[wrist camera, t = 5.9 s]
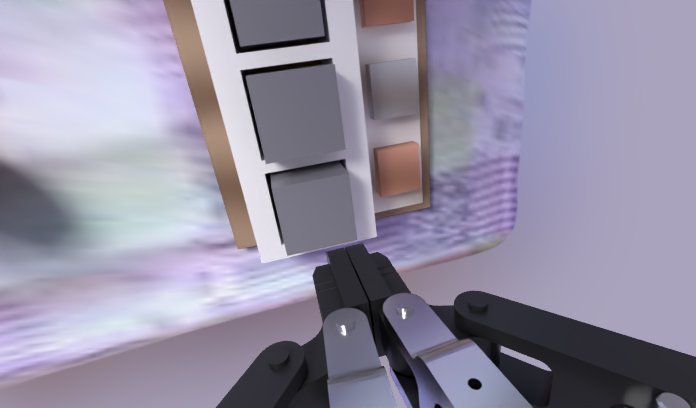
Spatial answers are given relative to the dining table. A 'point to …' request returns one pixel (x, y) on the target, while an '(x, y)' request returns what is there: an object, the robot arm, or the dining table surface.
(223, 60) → the switch housing
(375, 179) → the switch base
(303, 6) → the button
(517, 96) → the dining table surface
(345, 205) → the button
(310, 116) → the button
